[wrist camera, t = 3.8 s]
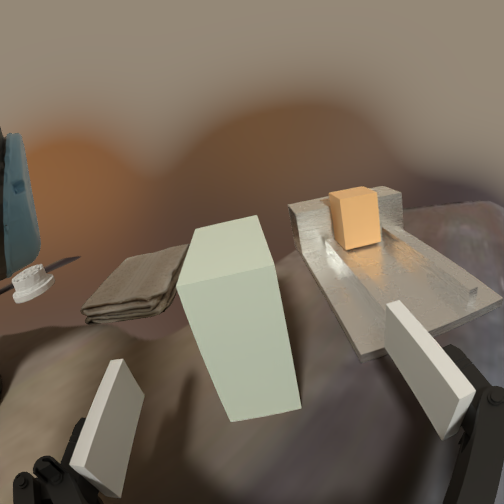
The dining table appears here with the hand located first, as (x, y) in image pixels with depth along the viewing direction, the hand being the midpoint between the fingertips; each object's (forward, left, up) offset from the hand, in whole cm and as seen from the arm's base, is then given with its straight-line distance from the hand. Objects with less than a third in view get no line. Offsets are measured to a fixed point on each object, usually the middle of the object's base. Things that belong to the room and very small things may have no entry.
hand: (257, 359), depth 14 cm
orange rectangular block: (+13, +22, -5) cm, 26 cm away
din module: (-1, +6, -6) cm, 8 cm away
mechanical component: (-42, +34, -6) cm, 55 cm away
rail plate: (+13, +16, -6) cm, 21 cm away
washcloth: (-15, +26, -7) cm, 30 cm away
